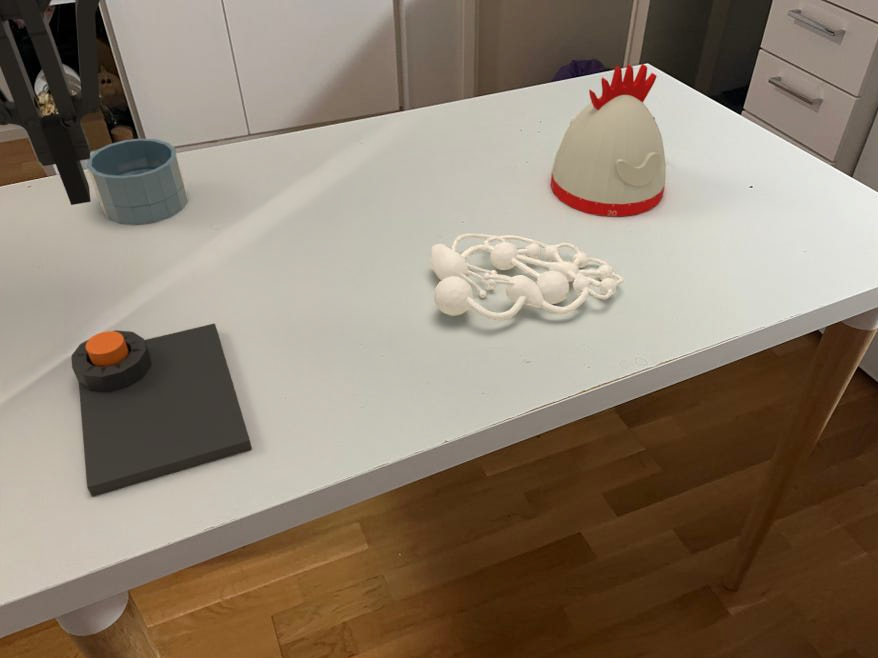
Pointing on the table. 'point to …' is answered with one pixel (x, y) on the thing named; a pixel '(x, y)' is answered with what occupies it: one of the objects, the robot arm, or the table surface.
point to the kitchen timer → (612, 151)
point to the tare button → (107, 348)
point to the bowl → (138, 181)
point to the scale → (157, 409)
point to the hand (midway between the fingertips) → (80, 195)
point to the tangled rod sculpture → (547, 290)
